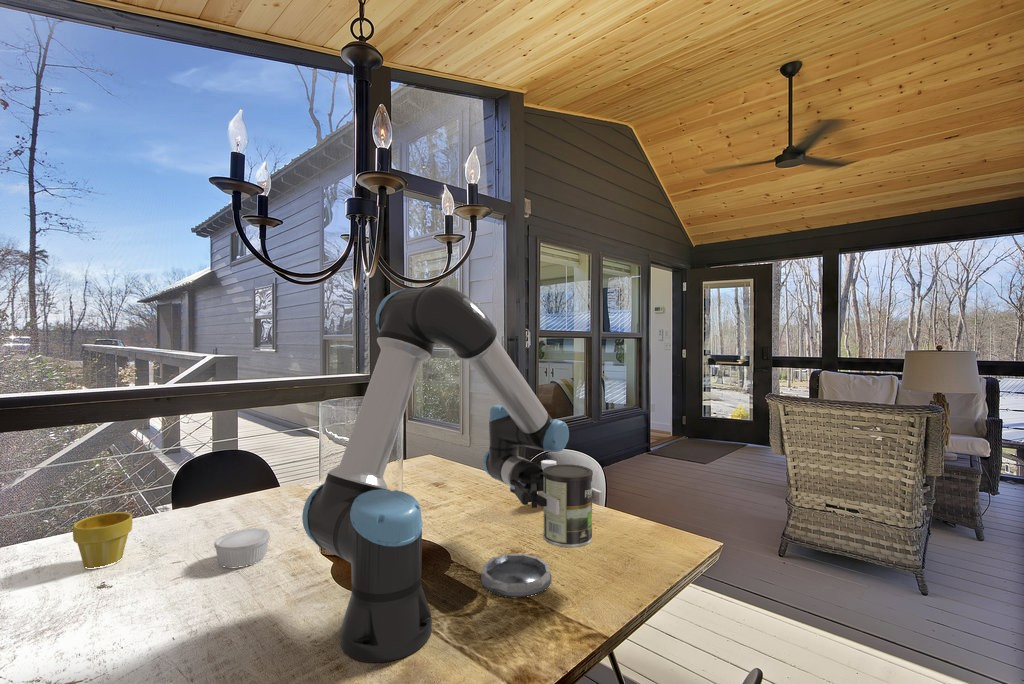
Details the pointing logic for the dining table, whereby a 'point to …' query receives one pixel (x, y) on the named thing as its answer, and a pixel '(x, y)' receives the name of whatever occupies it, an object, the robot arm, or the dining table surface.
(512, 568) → the shallow dark gray bowl
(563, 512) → the coffee can
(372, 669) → the dining table surface
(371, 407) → the robot arm
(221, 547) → the ramekin
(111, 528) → the plant pot
